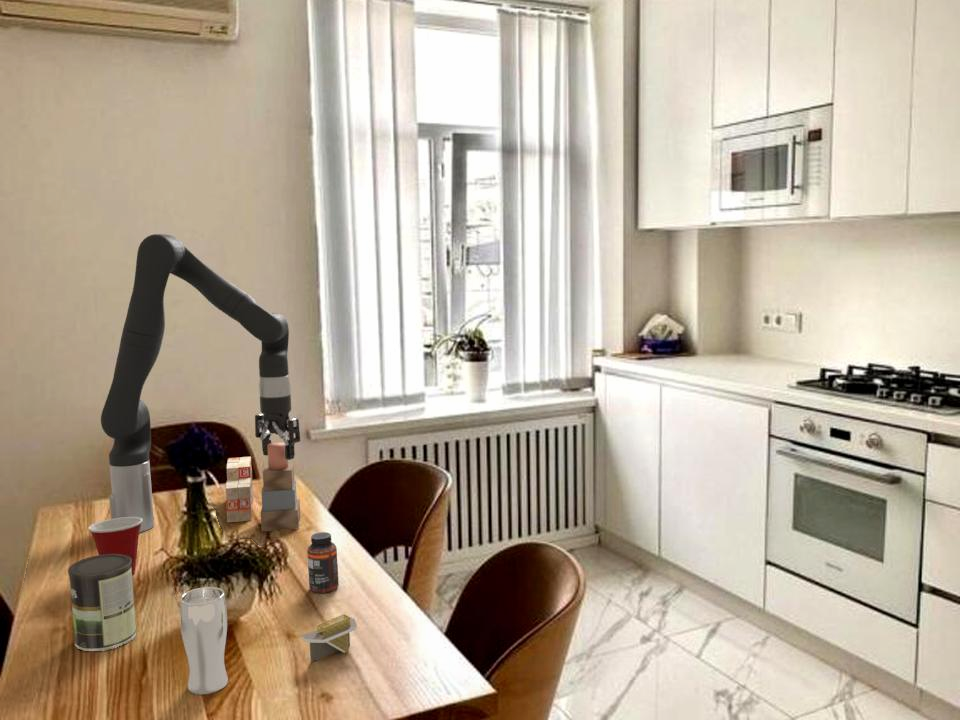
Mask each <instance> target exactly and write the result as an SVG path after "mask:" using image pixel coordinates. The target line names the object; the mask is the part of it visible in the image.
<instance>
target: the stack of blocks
mask: <svg viewBox="0 0 960 720" xmlns="http://www.w3.org/2000/svg"><path fill="white" fill-rule="evenodd" d="M226 479H227V480H226V482H225V498H226V499H225V508H226V522H227V523H237V522H248V521H252V516H253V504H254V487H253V486H254V485H253V469H252V456H242V457H229V458H227V463H226Z"/></svg>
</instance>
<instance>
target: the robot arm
mask: <svg viewBox="0 0 960 720" xmlns="http://www.w3.org/2000/svg"><path fill="white" fill-rule="evenodd" d="M170 274H172V275H173V276H175V277H178V278H179V279H181V280H183V281H185V282H186V283H188V285H189V284H190V286H192V287H193V288H194V289H196V290H197V291H198V292H199V293H200V294H201V295H202V296H203V297H204V298H205V299H206V300H207V302H209V303H211V305H212V306H214V307H215V308H216V309H218V310H219V311H221V312H222V313H223V314H225V315H227V316H228V317H230V318H231V319H233V320H234V321H236V322H237V323H239V325H241V326H242V327H243V328H244V329H245V330H246V331H247V332H249V334H250V335H251V336H252V337H254V338H256V339H257V340H259V341H261V353H260V354H259V358H258V369H259V370H258V372H259V373H258V374H259V380H258V382H259V383H258V388H259V391H258V392H259V407H260V408H259V409H260V413H258V414H255V415H254V431H255V434H254V435H255V437H256V438H259V440H260V441H261V447H262V448H261V450H262V454H263V455H264V456H265V457H266V456H267V457H268V448H267V445H268V444H270V443H272V439H271V438H272V437H273V434H274V435H278V436H279V438H280V439H282V442H284V443H285V458H286V459H287V460H288V461H289V460H293V459H295V455H296V454H295V444H296V443H300V442H301V434H300V433H301V432H300V422H299V418H290V415H289V413H290V412H291V411H292V397H291V396H292V395H291V381H290V377H289V361H288V352H289V336H290V335H289V334H290V333H289V332H290V331H289V330H290V328H289V323H288V321H287V319H286V318H285V316H283V315H282V314H281V313H277V312H272V313H271V312H269V311H267V310H265V309H264V308H263V307H262V306H261V305H259V304H258V303H257V301H256V300H255V299H254V297H252V296H251V295H249V294H248V293H246V292H245V291H244V290H242V289H241V288H239V287H238V286H237V285H235V284H234V283H232V282H230V281H229V280H227V279H226V278H224V277H223V276H222V275H220V274H219V273H217V272H215V271H214V270H213V269H212V268H210V267H209V266H208V265H206V264H205V263H204V262H203V261H202V260H200V259H199V258H198V257H197V256H196V255H195V254H194V253H193V252H192V251H191V250H190V249H189V248H188V247H187V246H185V245H184V243H182V242H181V241H180V240H179V239H178V238H177V237H176V236H173V235H170V234H161V233H160V234H159V233H158V234H157V233H155V234H150V235H147V236H146V237H145V238H144V239H143V240H142V241H141V242H140V244H139V246H138V249H137V254H136V262H135V272H134V281H133V287H132V293H131V296H130V299H129V303H128V308H127V313H126V317H125V321H124V325H123V327H122V331H121V332H122V333H121V338H120V341H119V348H118V353H117V356H116V357H117V358H116V362H115V366H114V373H113V377H112V382H111V384H110V387H109V391H108V394H107V395H106V396H107V397H106V400H105V402H104V405H103V408H102V412H101V416H100V424H101V429H102V431H103V432H104V434H105V435H106V436H108V437H109V438H112V439H113V445H112V447H111V450H110V451H109V453H108V463H109V475H110V486H111V493H110V495H109V505H110V507H109V508H110V519H115V518H123V517H139V518H142V519H143V522H142V523H141V526H140V531H139V533H142V532H145V531H149V530H150V529H152V528H153V527H154V526H155V517H154V505H153V493H152V480H151V479H152V478H151V477H152V476H151V466H150V465H151V464H150V451H151V445H152V430H151V429H152V427H151V426H152V425H151V415H150V411H149V408H148V406H147V404H146V403H145V402H144V401H142V400H141V395H142V390H143V388H144V385H145V383H146V381H147V379H148V377H149V375H150V374H151V371H152V369H153V367H154V365H155V363H156V361H157V359H158V357H159V354H160V352H161V348H162V342H163V338H164V335H165V329H166V328H165V327H166V322H165V321H166V319H165V318H166V317H165V306H164V305H165V303H164V299H165V291H166V287H167V283H168V280H169V277H170ZM294 435H295V436H294Z"/></svg>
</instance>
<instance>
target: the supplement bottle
mask: <svg viewBox="0 0 960 720" xmlns="http://www.w3.org/2000/svg"><path fill="white" fill-rule="evenodd" d="M310 539H311V540H310V542H311V544H310V545H309V546H308V547H307V549H306V550H307V551H306V553H307V569H308V570H307V571H308V585H309V590H310V591H311V592H313V593H315V594H316V593H318V594H325V593H326V594H327V593H330V592H333V591H335V590H336V589H337V588H338V587H339V567H338V565H339V564H338V553H337V549H338V548H337V545H336V544H335V543H334V542H333V541H332V534H331V533H330V532H326V531H325V532H324V531H323V532H321V531H320V532H316V533H313V534H312V535H311V537H310Z"/></svg>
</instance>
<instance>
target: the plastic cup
mask: <svg viewBox="0 0 960 720" xmlns="http://www.w3.org/2000/svg"><path fill="white" fill-rule="evenodd" d="M142 522H143V519H142V518H139V517H123V518H115V519H111V518H110V519H107V520H102V521H101V520H100V521H99V522H94V523H93V524H91V525H89V526H88V531H89V532H90V533H91V536H92V538H93V542H95V547H96V550H97V555H103V554H123V555H127V556H129V557H130V558H131V559H132V564H131V569H132V577H133V576H134V575H135V571H136V566H137V565H136V562H137V558H138V550H139V549H138V547H139V546H138V545H139V537H140V532H139V531H140V526H141V523H142Z"/></svg>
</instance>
